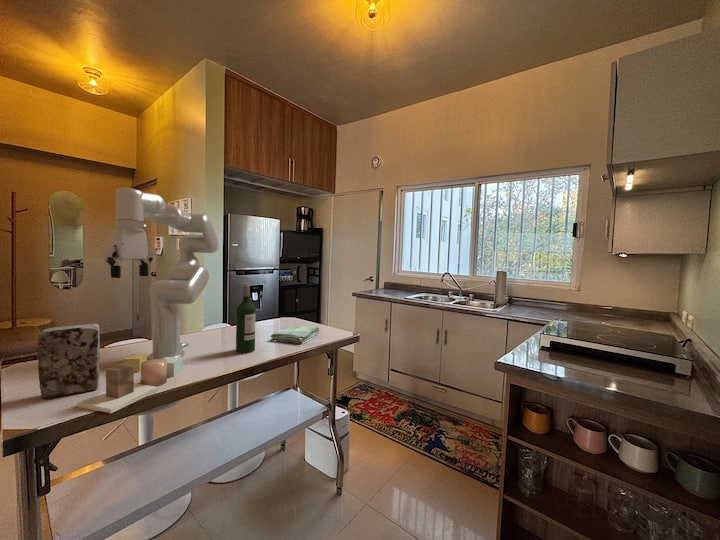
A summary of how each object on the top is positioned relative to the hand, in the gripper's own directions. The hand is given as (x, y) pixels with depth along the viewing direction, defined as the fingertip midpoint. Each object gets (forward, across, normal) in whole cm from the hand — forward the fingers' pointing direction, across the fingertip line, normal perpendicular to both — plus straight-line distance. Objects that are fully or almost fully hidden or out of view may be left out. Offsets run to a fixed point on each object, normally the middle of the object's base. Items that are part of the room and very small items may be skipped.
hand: (130, 276), depth 101 cm
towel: (+35, -63, +31) cm, 78 cm away
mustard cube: (+34, -5, -4) cm, 35 cm away
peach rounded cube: (+34, +2, +12) cm, 36 cm away
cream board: (+34, +13, +12) cm, 39 cm away
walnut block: (+33, +13, +12) cm, 37 cm away
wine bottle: (+34, -36, +20) cm, 54 cm away
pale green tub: (+34, -6, +10) cm, 36 cm away
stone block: (+34, +14, -5) cm, 38 cm away
